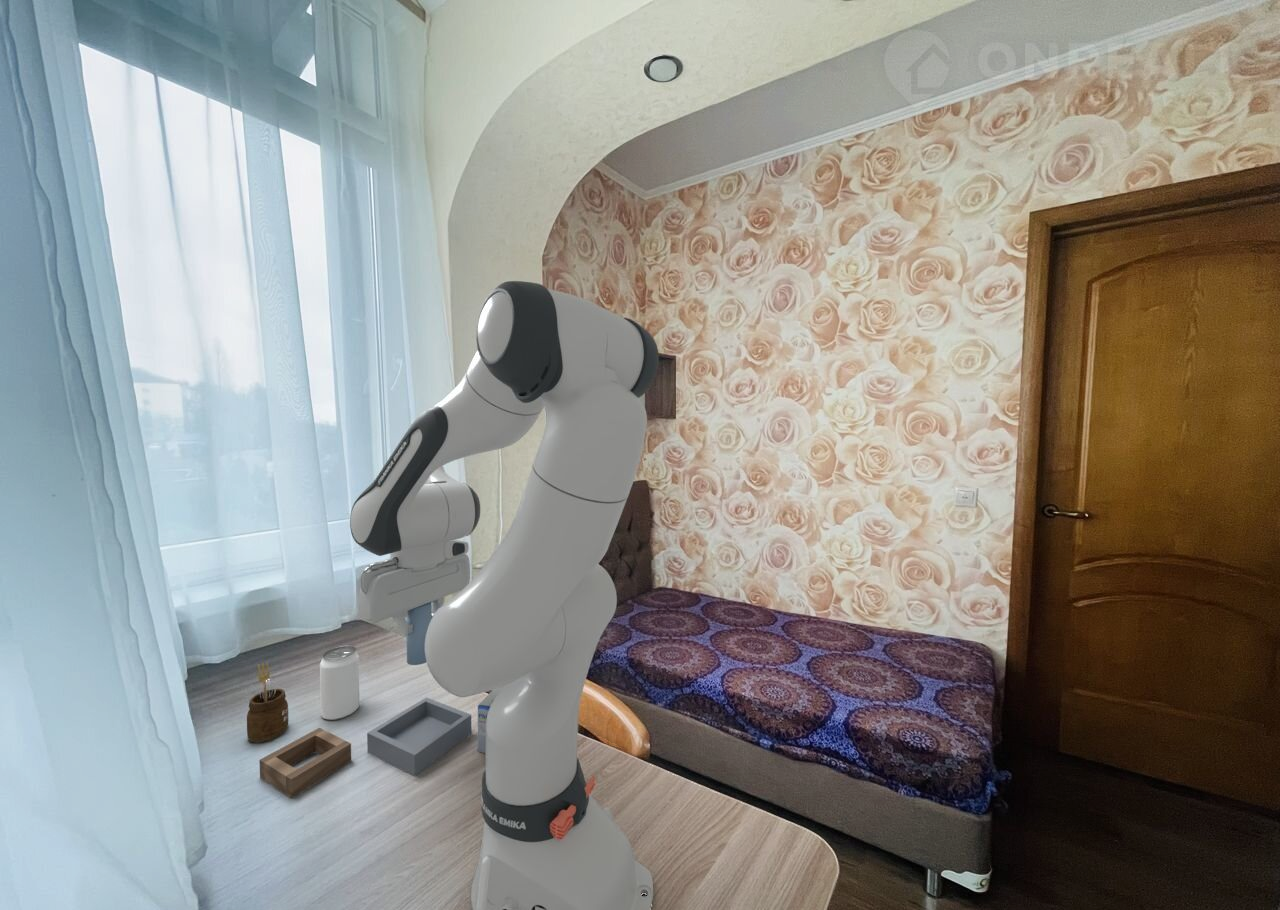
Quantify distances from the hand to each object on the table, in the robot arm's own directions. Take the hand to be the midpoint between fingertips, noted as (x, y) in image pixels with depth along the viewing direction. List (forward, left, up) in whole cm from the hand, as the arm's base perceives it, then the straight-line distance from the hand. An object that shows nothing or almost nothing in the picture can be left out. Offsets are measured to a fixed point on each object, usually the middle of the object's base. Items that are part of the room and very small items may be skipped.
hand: (419, 628), depth 81 cm
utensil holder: (+27, +11, -21) cm, 36 cm away
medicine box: (-12, -7, -21) cm, 25 cm away
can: (+22, +1, -21) cm, 31 cm away
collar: (+11, +13, -21) cm, 27 cm away
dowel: (0, 0, -6) cm, 6 cm away
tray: (0, 0, -21) cm, 21 cm away
